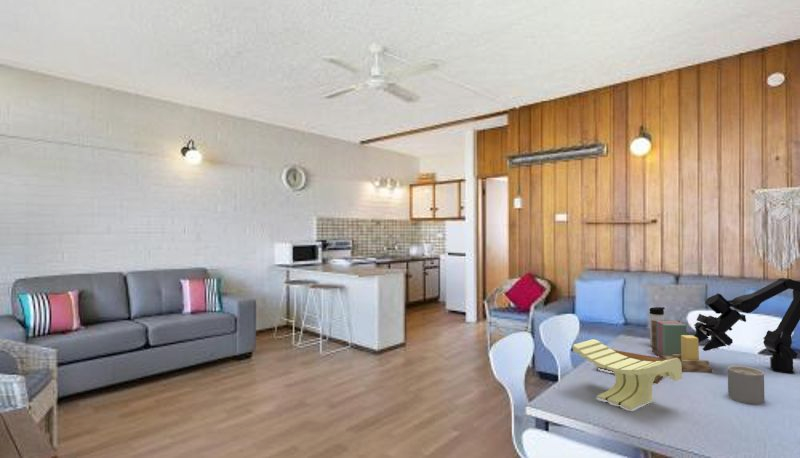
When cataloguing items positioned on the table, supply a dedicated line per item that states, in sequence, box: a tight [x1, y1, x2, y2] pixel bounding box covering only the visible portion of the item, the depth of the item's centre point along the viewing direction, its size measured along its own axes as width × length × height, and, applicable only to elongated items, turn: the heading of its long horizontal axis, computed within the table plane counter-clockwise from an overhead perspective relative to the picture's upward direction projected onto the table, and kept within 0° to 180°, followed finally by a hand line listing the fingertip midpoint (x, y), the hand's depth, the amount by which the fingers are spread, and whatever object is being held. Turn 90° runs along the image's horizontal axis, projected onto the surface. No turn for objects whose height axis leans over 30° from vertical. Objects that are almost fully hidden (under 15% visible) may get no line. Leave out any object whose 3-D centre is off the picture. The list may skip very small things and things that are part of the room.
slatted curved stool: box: [572, 338, 683, 410], centre depth 151 cm, size 30×16×18 cm, turn 33°
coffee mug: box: [727, 365, 766, 405], centre depth 151 cm, size 13×10×10 cm
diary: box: [597, 349, 669, 384], centre depth 181 cm, size 23×19×6 cm
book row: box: [656, 321, 688, 356], centre depth 199 cm, size 9×9×14 cm
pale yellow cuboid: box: [681, 334, 700, 360], centre depth 182 cm, size 4×5×12 cm
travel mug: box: [649, 306, 665, 348], centre depth 214 cm, size 6×7×20 cm
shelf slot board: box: [651, 319, 713, 374], centre depth 191 cm, size 12×28×16 cm, turn 171°
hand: (697, 347), depth 181 cm, fingers open, 9 cm apart
